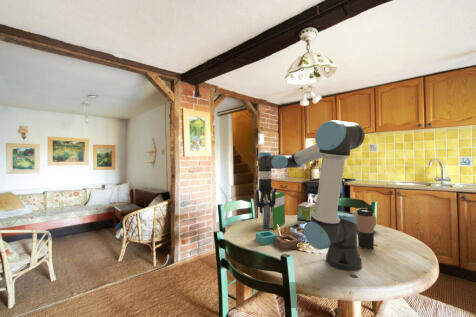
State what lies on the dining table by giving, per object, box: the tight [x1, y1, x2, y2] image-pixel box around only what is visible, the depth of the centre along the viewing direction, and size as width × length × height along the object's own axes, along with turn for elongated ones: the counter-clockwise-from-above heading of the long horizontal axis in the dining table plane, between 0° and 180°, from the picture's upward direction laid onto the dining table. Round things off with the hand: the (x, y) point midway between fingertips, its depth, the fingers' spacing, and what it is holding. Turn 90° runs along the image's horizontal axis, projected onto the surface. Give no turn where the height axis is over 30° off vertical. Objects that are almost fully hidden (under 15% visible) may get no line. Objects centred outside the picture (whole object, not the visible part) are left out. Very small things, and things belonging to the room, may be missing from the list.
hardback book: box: [264, 190, 286, 231], centre depth 163 cm, size 18×7×24 cm, turn 144°
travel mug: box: [357, 208, 375, 250], centre depth 121 cm, size 8×8×20 cm
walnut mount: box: [274, 234, 301, 251], centre depth 123 cm, size 10×10×5 cm
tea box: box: [296, 201, 317, 225], centre depth 166 cm, size 15×10×15 cm, turn 143°
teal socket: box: [255, 230, 279, 246], centre depth 131 cm, size 10×10×5 cm
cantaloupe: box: [351, 207, 378, 229], centre depth 148 cm, size 15×15×15 cm
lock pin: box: [262, 200, 271, 230], centre depth 131 cm, size 5×5×16 cm
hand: (266, 217), depth 131 cm, fingers closed on lock pin, 4 cm apart
